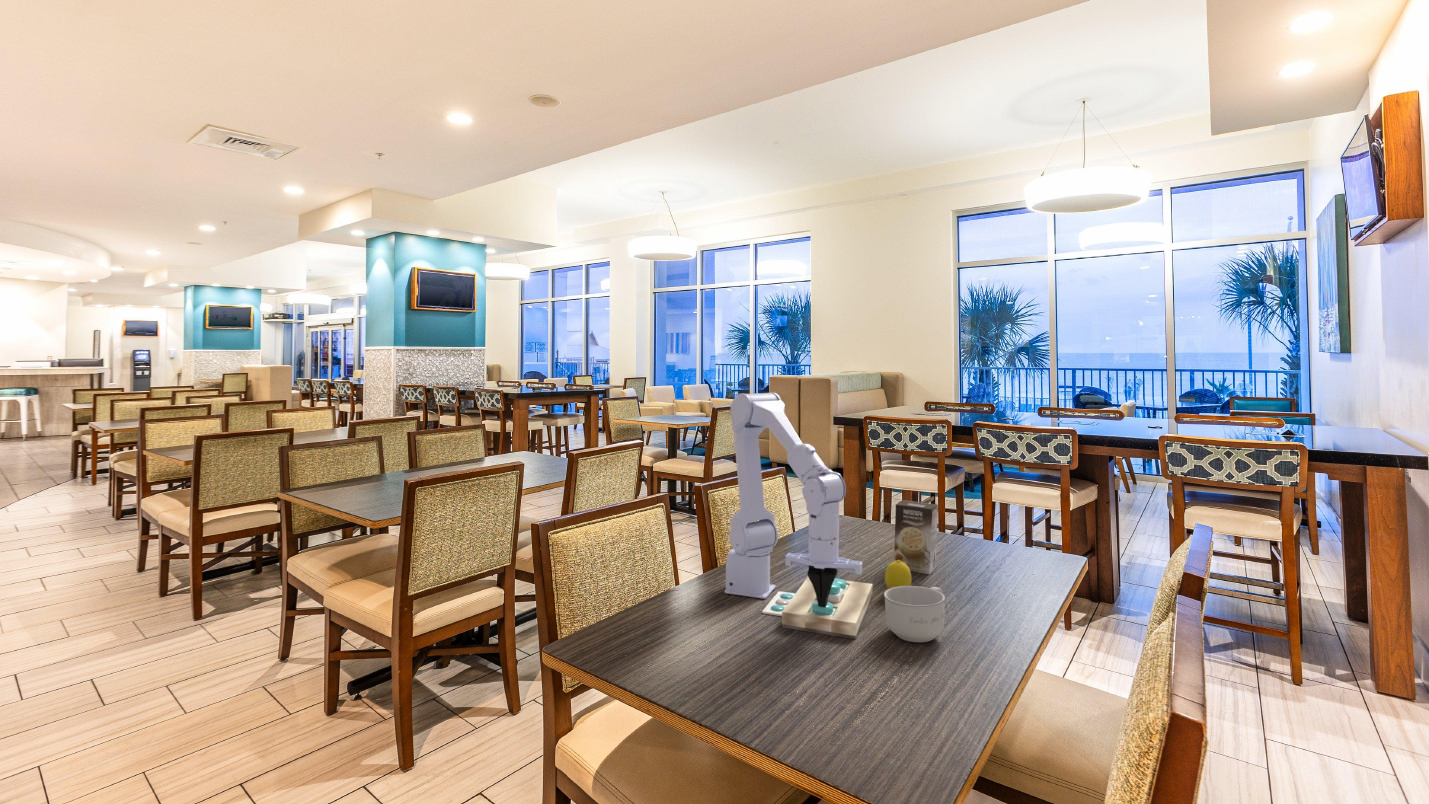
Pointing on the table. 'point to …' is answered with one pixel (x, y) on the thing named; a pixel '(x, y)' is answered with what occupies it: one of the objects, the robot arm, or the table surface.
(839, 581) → the button far
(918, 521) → the coffee box
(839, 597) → the button mid
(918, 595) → the teacup
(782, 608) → the card
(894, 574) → the lemon
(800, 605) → the button board
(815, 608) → the button near
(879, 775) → the table surface
